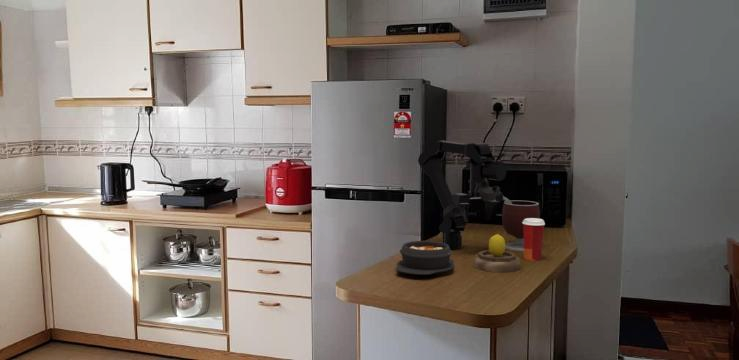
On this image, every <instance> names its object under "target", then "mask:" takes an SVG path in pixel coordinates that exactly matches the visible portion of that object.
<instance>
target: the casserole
mask: <svg viewBox="0 0 739 360" xmlns="http://www.w3.org/2000/svg"><path fill="white" fill-rule="evenodd" d="M399 253H400V254H401V258H402V259H401V260H398V262H397V263H396V266H397V267H396V269H395V270H396V271H398V272H399V273H403V274H407V275H416V276H430V275H437V274H441V273H444V272H448V271H450V270H453V269H454V268H455V264H454V260H453V259H452V258H451V256H452V254H453V250H451V249H450V247H449V245H447V244H445V243H442V242H440V241H434V240H433V241H432V240H415V241H408V242H405V243H403V245H402V247H401V248H400V250H399Z"/></svg>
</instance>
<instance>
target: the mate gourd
mask: <svg viewBox="0 0 739 360" xmlns="http://www.w3.org/2000/svg"><path fill="white" fill-rule="evenodd" d="M503 201H504V202H503V205H502V211H501V221H502V222H501V223H502V226H503V227H502V228H503V229H504V231H505V232H506V234H508V235H510V236H512V237H514V238H515V241H513V242H512V241H511V242H505V245H506V247H505V250H511V251H515V252H516V251H519V252H524V227H523V223H522V222H524V221H523V220H524V219H526V218H537V219H541V218H540V217H541V212H540V205H539V204H540V203H539V202H536V201H532V200H531V201H530V200H520V199H519V200H516V199H515V200H513V199H512V200H510V199H508V197H505V196H504V197H503Z"/></svg>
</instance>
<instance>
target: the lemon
mask: <svg viewBox="0 0 739 360" xmlns="http://www.w3.org/2000/svg"><path fill="white" fill-rule="evenodd" d="M505 243H506V240H505V239H504V237H503V236H502V235H500V234H498V233H496V234H494V235H492V236H491V237H490V238H489V241H488V250H489V251H490V253H491V254H492V255H494V256H495V257H496V258H498V257H499V256H500V255H502V254H503V253H504V251H506V248H505V247H506V245H505Z"/></svg>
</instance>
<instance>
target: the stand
mask: <svg viewBox="0 0 739 360" xmlns="http://www.w3.org/2000/svg"><path fill="white" fill-rule="evenodd" d="M520 264H521V259H520V256H519V257H518V256H517V255H516V254H515V253H514V252H512V251H511V252H510V251H506V250H505V251H504V253H503V254H502V255H500V256H499V257H498V258H496V257H495V256H494V255H492V254H491V253H490V251H489V249H488V250H487V249H485V250H482V251H479V252H477V254H475V255H473V267H474V268H475V269H477V270H479V271H480V270H481V271H485V272H491V273H513V272H516V271H518V270H520V268H521V265H520Z"/></svg>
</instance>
